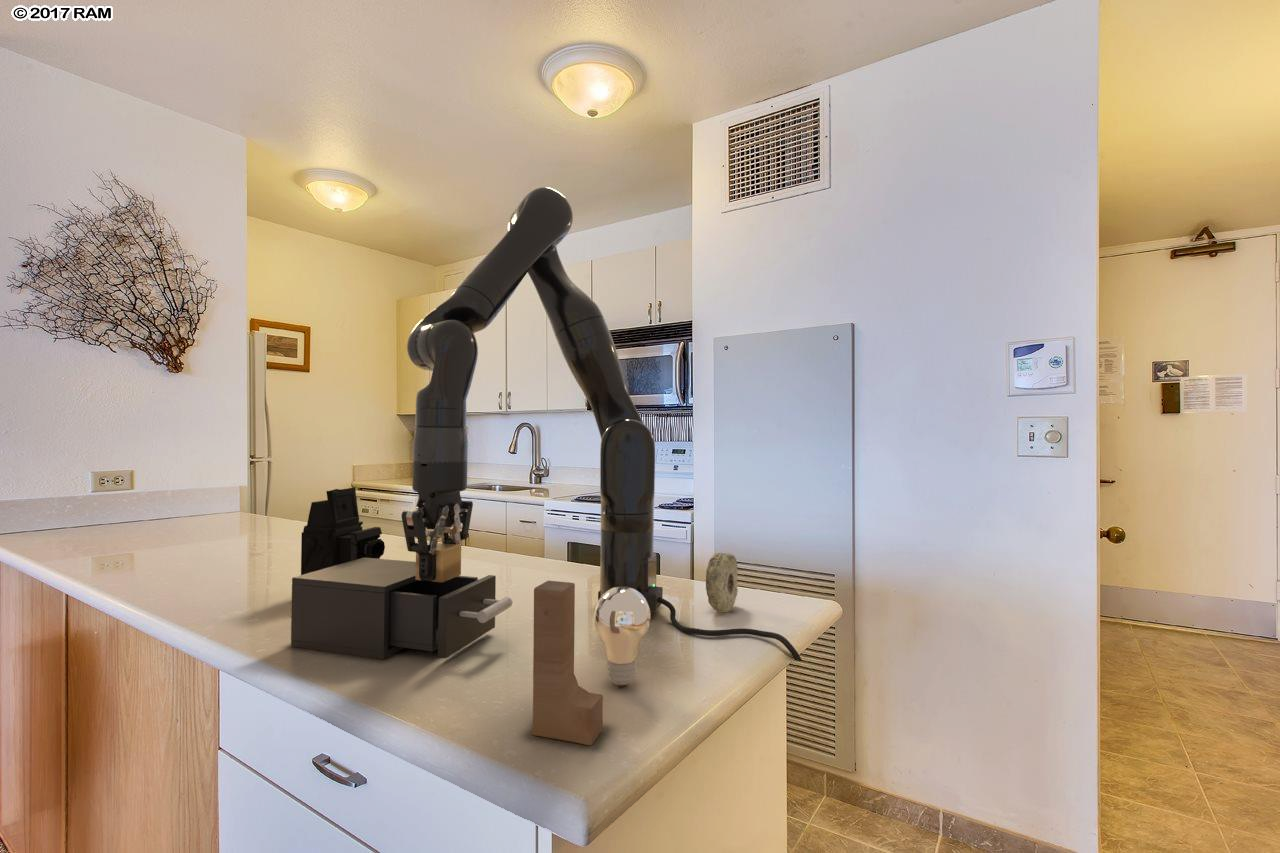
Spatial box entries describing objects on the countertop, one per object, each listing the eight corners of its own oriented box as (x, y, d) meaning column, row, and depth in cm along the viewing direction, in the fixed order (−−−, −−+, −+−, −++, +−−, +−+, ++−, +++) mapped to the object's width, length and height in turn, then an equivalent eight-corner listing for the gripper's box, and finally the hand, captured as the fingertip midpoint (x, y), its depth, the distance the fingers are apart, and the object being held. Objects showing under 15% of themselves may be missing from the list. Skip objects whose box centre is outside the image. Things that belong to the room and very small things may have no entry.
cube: (461, 575, 84) (461, 544, 84) (442, 582, 79) (442, 550, 79) (434, 572, 85) (435, 542, 85) (415, 580, 80) (415, 548, 81)
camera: (359, 607, 98) (361, 492, 98) (292, 602, 101) (294, 489, 101) (395, 592, 108) (396, 487, 108) (333, 587, 111) (335, 485, 111)
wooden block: (531, 735, 57) (533, 587, 57) (546, 719, 60) (547, 579, 61) (591, 746, 55) (592, 593, 56) (603, 730, 58) (604, 585, 59)
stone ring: (721, 620, 93) (721, 559, 93) (701, 616, 95) (701, 557, 95) (742, 604, 102) (742, 549, 102) (723, 601, 104) (723, 547, 104)
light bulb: (596, 672, 72) (597, 579, 73) (650, 673, 72) (651, 580, 72) (589, 698, 66) (590, 594, 66) (649, 699, 65) (650, 595, 65)
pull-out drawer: (521, 630, 85) (521, 577, 85) (475, 662, 73) (475, 601, 73) (413, 617, 90) (414, 568, 90) (354, 646, 78) (354, 589, 78)
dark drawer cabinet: (445, 626, 89) (446, 564, 89) (383, 659, 76) (384, 586, 76) (362, 616, 94) (363, 557, 94) (290, 646, 80) (291, 577, 80)
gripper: (447, 456, 90) (446, 563, 90) (384, 459, 76) (382, 586, 76) (489, 457, 88) (487, 566, 88) (431, 461, 74) (429, 591, 74)
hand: (438, 575), depth 82 cm, fingers closed on cube, 4 cm apart
